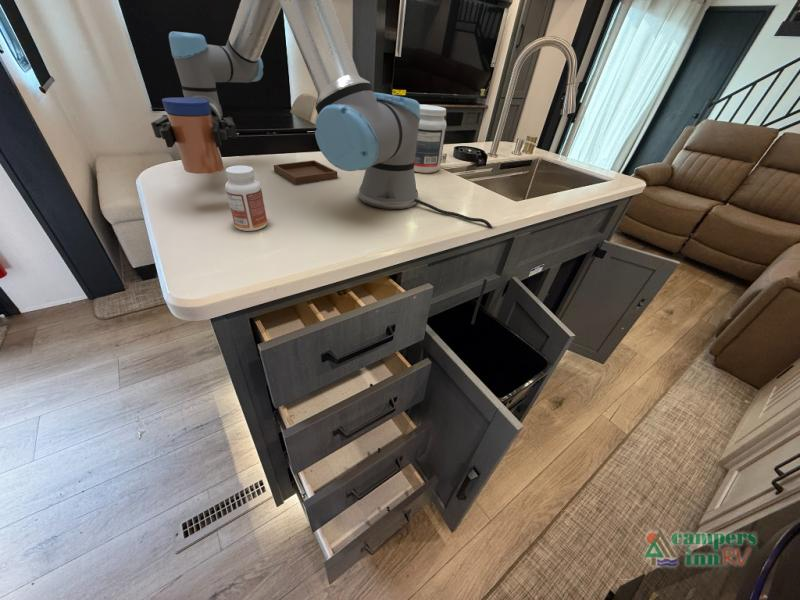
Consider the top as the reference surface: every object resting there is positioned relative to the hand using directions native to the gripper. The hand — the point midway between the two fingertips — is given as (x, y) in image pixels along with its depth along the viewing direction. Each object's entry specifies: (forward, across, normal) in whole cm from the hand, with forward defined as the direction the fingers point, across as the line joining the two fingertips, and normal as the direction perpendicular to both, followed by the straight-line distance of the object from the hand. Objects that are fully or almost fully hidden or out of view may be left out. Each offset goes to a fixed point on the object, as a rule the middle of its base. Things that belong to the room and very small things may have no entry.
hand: (192, 139), depth 59 cm
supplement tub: (-30, -62, -15) cm, 70 cm away
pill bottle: (+6, -7, -15) cm, 18 cm away
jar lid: (-5, 0, +5) cm, 7 cm away
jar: (-5, 0, -6) cm, 8 cm away
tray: (-26, -23, -15) cm, 38 cm away
